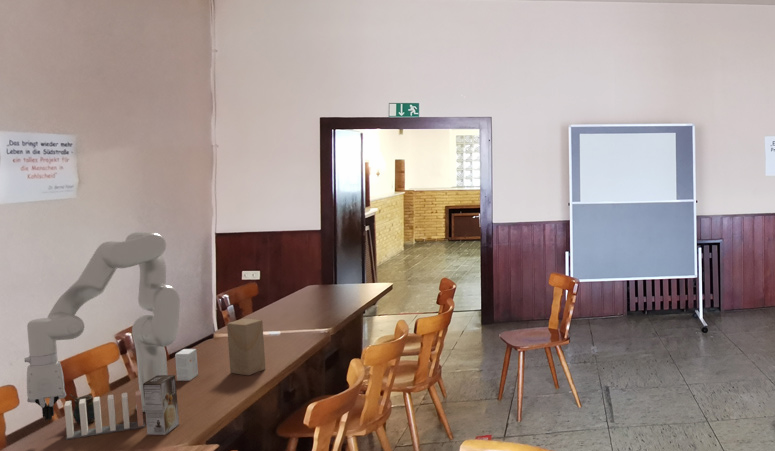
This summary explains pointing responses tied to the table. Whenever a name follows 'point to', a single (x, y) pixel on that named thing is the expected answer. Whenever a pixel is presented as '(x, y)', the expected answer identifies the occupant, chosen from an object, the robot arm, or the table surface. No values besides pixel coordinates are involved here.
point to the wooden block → (246, 346)
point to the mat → (106, 430)
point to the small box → (186, 364)
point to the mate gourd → (88, 407)
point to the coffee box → (161, 404)
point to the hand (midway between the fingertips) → (48, 418)
